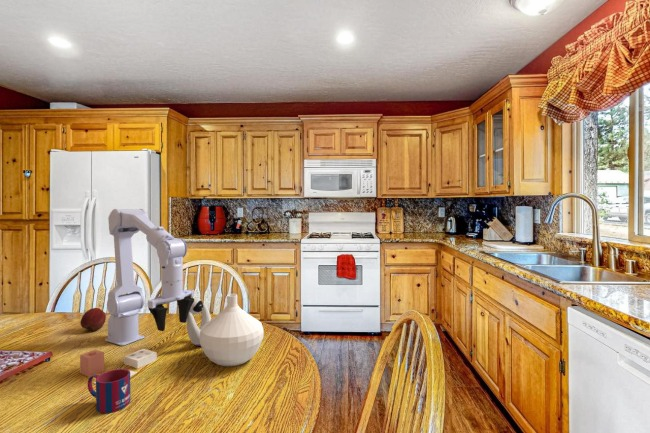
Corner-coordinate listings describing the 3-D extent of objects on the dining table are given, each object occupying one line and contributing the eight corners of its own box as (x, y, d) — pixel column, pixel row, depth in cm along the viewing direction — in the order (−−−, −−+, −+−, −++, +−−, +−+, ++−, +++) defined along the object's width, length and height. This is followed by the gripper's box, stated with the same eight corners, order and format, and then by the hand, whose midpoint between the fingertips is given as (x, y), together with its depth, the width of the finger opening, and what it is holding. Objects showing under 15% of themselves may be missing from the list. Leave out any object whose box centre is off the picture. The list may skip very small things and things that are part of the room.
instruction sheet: (93, 383, 88) (93, 382, 88) (120, 369, 96) (120, 368, 96) (111, 387, 87) (111, 386, 87) (137, 372, 94) (137, 371, 94)
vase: (185, 367, 98) (185, 299, 97) (225, 343, 115) (225, 285, 114) (241, 379, 91) (241, 307, 91) (274, 351, 108) (274, 290, 108)
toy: (199, 352, 107) (199, 304, 107) (178, 350, 109) (178, 303, 108) (217, 338, 118) (217, 295, 118) (198, 337, 120) (198, 293, 119)
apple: (110, 329, 127) (110, 307, 126) (86, 335, 120) (86, 312, 120) (100, 325, 131) (99, 304, 130) (76, 331, 124) (76, 309, 124)
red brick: (80, 373, 94) (80, 353, 94) (95, 367, 97) (95, 348, 97) (88, 376, 92) (88, 356, 92) (104, 370, 95) (104, 351, 95)
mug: (111, 416, 75) (111, 385, 75) (78, 407, 78) (77, 377, 78) (137, 399, 81) (137, 371, 81) (105, 392, 84) (105, 364, 84)
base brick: (124, 364, 99) (124, 356, 99) (143, 356, 105) (143, 348, 105) (137, 369, 97) (137, 360, 97) (156, 361, 102) (156, 352, 102)
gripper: (159, 287, 93) (160, 336, 94) (201, 277, 106) (201, 321, 107) (142, 284, 97) (142, 332, 97) (184, 274, 109) (185, 317, 110)
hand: (172, 326), depth 102 cm, fingers open, 7 cm apart
